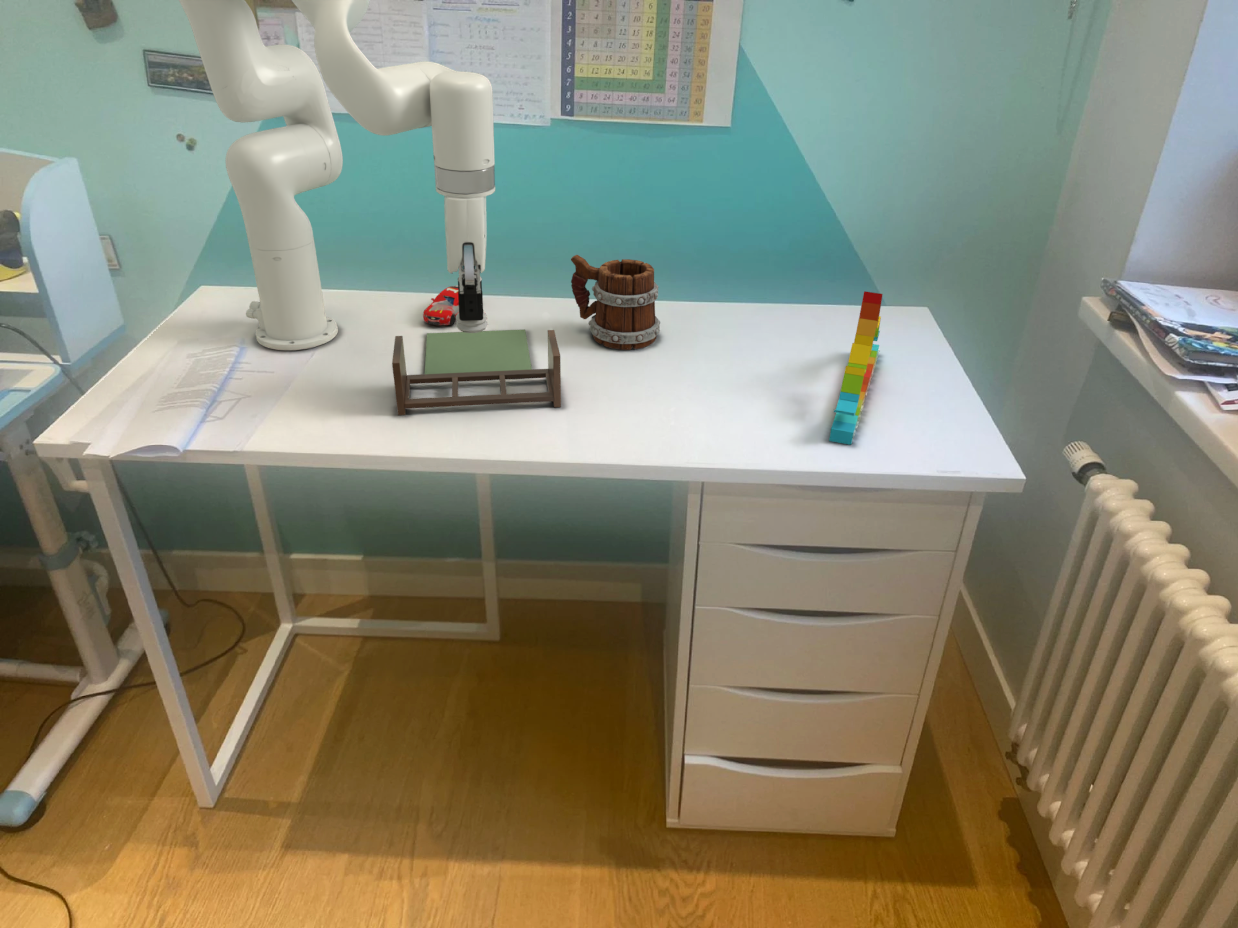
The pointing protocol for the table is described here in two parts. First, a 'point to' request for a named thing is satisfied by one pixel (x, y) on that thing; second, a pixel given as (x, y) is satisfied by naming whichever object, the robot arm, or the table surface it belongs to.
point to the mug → (618, 302)
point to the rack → (404, 380)
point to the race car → (443, 308)
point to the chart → (858, 371)
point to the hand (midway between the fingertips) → (471, 312)
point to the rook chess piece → (471, 322)
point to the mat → (477, 352)
